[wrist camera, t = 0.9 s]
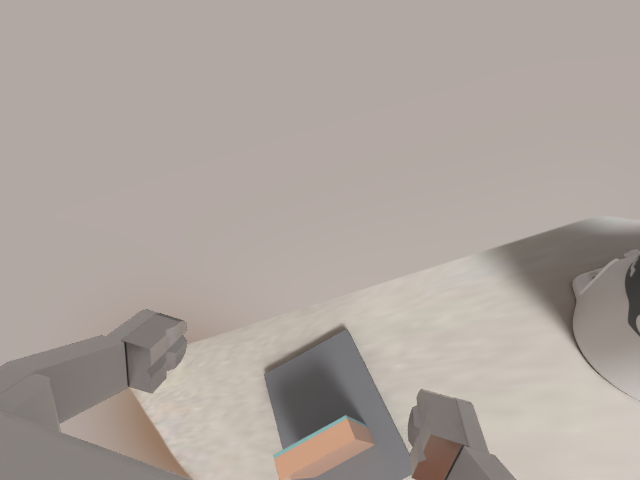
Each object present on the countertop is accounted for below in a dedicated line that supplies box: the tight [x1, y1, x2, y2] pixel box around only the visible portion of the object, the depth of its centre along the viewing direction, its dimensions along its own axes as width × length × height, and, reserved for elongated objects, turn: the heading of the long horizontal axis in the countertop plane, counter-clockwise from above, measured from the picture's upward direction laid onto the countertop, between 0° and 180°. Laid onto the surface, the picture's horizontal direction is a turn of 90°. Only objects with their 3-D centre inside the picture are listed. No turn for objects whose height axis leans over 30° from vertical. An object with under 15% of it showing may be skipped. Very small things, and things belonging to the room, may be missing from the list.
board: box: [264, 329, 411, 480], centre depth 39 cm, size 14×18×2 cm
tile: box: [273, 415, 375, 480], centre depth 32 cm, size 8×2×10 cm, turn 112°
